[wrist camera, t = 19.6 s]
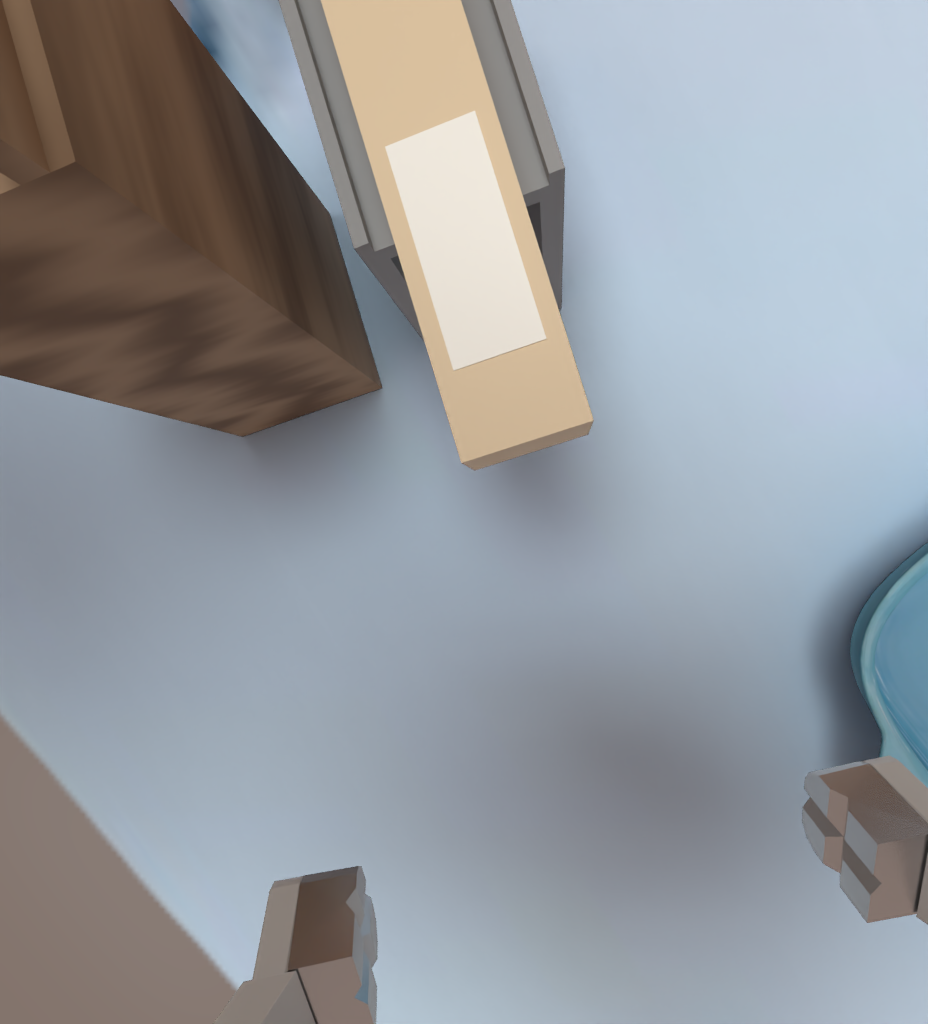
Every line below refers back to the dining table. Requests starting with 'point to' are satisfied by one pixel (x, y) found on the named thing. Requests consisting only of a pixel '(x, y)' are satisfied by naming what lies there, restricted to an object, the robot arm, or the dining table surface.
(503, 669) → the dining table surface
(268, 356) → the shelf
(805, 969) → the dining table surface
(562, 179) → the grey arch
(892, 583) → the casserole dish
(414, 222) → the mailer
